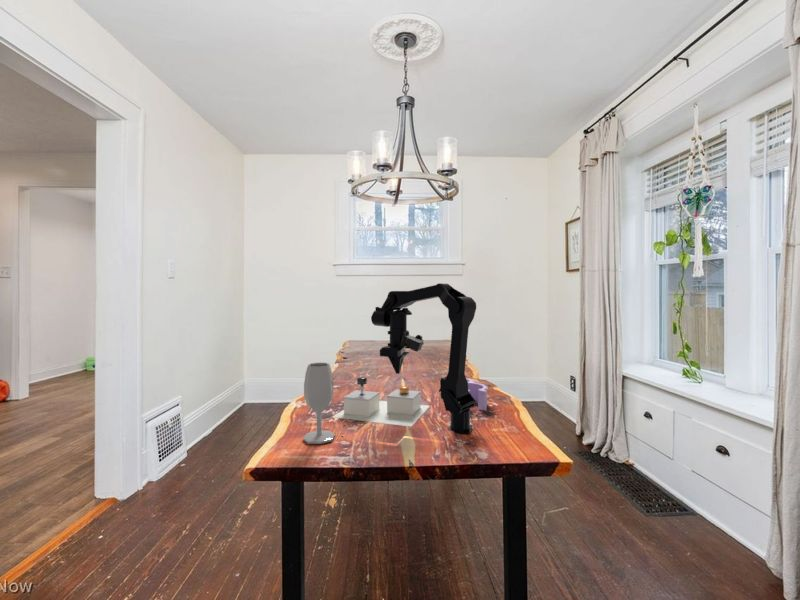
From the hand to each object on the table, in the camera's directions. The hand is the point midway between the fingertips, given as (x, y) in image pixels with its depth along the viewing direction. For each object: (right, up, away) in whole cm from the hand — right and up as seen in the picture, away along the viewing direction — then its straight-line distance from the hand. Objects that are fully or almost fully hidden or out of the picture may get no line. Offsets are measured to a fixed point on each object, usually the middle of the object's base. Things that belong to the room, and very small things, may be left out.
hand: (397, 373), depth 130 cm
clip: (+26, -13, +12) cm, 31 cm away
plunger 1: (-12, -9, -1) cm, 15 cm away
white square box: (+2, -13, 0) cm, 13 cm away
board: (-5, -13, 0) cm, 14 cm away
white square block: (-12, -13, -1) cm, 18 cm away
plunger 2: (+2, -13, 0) cm, 13 cm away
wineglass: (-22, -14, -23) cm, 35 cm away
